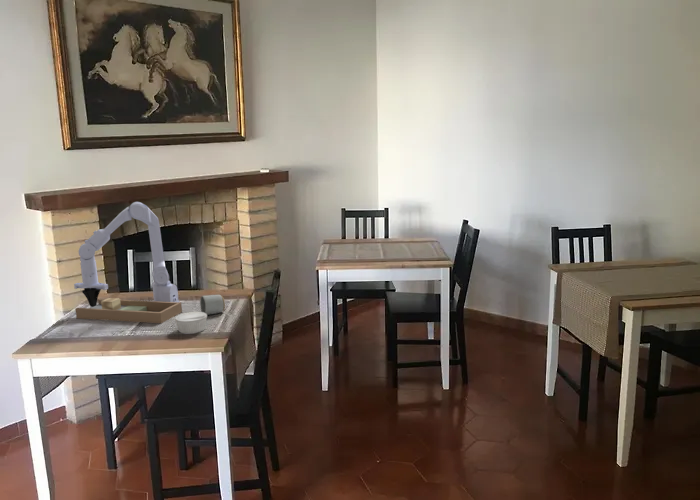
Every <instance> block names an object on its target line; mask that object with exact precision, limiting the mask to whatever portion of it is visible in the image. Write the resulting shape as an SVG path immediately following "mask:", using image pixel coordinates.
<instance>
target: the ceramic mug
mask: <svg viewBox="0 0 700 500" xmlns="http://www.w3.org/2000/svg"><path fill="white" fill-rule="evenodd" d="M199 302H200V304H199V307H200V310H201V311H200V312H204V313H206V314H207V316H208V315H215V314H219V313H222V312H223V313H224V311H225V307H226V306H225V305H226V303H225V302H226V301H225V298H224V296H222V295H221V294H211V295H201V297H200V300H199Z"/></svg>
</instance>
